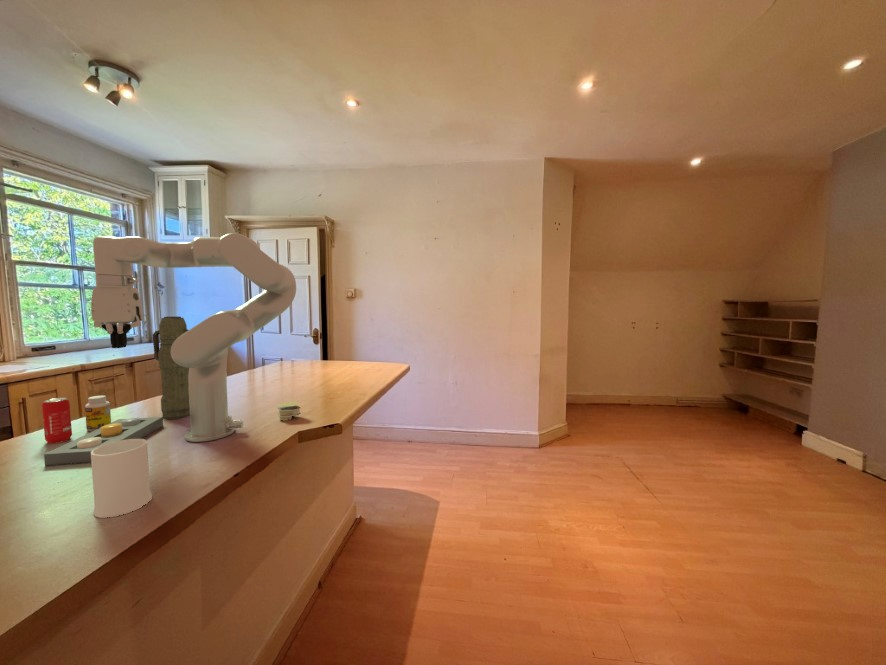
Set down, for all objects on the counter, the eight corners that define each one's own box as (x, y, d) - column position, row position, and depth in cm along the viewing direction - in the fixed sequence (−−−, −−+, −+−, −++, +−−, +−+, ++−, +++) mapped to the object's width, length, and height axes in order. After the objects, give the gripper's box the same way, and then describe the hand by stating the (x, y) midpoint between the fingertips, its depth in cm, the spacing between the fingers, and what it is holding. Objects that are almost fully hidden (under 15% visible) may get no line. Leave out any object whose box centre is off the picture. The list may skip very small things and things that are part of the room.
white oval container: (108, 492, 73) (104, 437, 72) (159, 482, 77) (156, 430, 76) (85, 523, 62) (80, 459, 61) (146, 510, 67) (142, 450, 66)
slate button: (143, 427, 108) (143, 417, 108) (134, 433, 104) (134, 422, 103) (127, 428, 107) (126, 418, 107) (117, 434, 103) (116, 423, 102)
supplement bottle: (81, 432, 105) (79, 399, 104) (95, 426, 111) (93, 395, 110) (103, 431, 107) (101, 398, 106) (115, 425, 112) (113, 394, 111)
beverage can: (54, 445, 96) (50, 402, 95) (40, 443, 97) (36, 401, 96) (77, 438, 101) (74, 398, 100) (63, 436, 102) (60, 396, 101)
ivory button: (106, 448, 92) (105, 436, 92) (93, 456, 88) (92, 443, 88) (86, 450, 91) (85, 437, 91) (73, 457, 87) (72, 444, 87)
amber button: (126, 434, 100) (125, 422, 100) (115, 440, 96) (114, 428, 96) (108, 435, 99) (107, 423, 99) (96, 441, 95) (96, 429, 95)
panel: (163, 425, 112) (162, 416, 111) (103, 461, 86) (102, 450, 86) (119, 428, 109) (118, 419, 109) (44, 466, 84) (43, 454, 83)
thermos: (163, 413, 124) (157, 316, 121) (201, 410, 128) (196, 316, 125) (151, 421, 116) (145, 317, 113) (192, 417, 120) (187, 317, 117)
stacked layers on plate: (274, 426, 113) (274, 409, 113) (272, 418, 121) (272, 402, 121) (307, 421, 119) (306, 405, 118) (302, 413, 126) (302, 399, 126)
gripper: (153, 283, 102) (157, 345, 103) (93, 282, 98) (97, 346, 100) (137, 282, 94) (141, 348, 96) (71, 281, 91) (76, 349, 92)
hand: (119, 347), depth 98 cm, fingers closed
